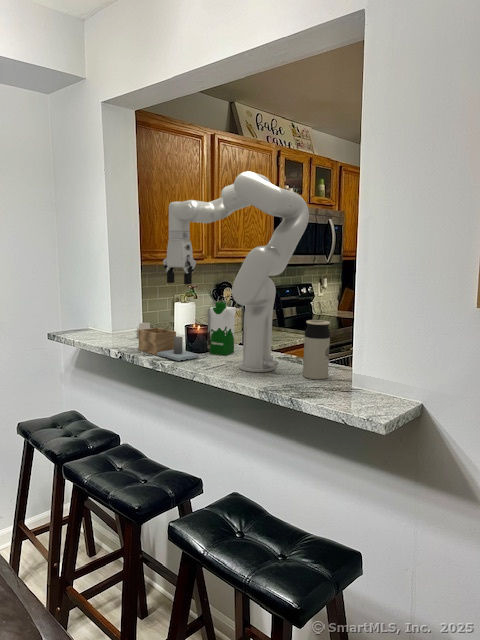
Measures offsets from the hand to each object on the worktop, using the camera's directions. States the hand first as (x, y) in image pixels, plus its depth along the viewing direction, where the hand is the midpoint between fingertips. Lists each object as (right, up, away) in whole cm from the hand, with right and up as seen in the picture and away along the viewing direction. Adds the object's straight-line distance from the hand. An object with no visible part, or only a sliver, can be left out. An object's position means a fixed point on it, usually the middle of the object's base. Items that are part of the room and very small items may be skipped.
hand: (179, 283), depth 175 cm
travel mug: (+47, -32, -23) cm, 61 cm away
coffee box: (+14, -25, +21) cm, 35 cm away
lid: (0, -27, 0) cm, 27 cm away
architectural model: (-21, -22, +37) cm, 48 cm away
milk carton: (+16, -27, +9) cm, 32 cm away
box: (-10, -26, +10) cm, 29 cm away
